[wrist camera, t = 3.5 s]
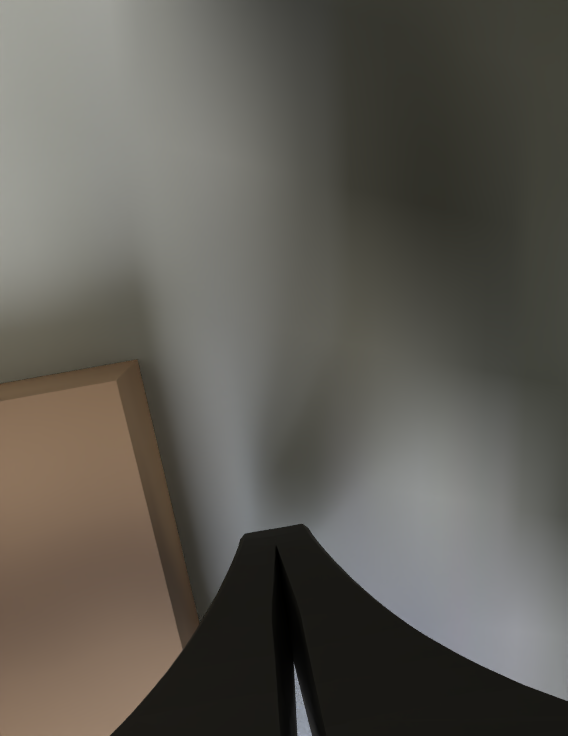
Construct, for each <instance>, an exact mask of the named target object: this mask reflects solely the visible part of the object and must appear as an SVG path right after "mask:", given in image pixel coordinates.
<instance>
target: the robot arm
mask: <svg viewBox="0 0 568 736" xmlns="http://www.w3.org/2000/svg"><path fill="white" fill-rule="evenodd" d="M294 665H295V669H296V673H297V677H298V681H299V685H300V689H301V693H302V697H303V701H304V705H305V709H306V713H307V717H308V721H309V725H310V729H311V733H312V736H568V701H565V700H563V699H560V698H557V697H555V696H552V695H549V694H547V693H544V692H541V691H539V690H536V689H533V688H530V687H528V686H525V685H523V684H520V683H518V682H516V681H513V680H511V679H509V678H507V677H505V676H502V675H500V674H498V673H496V672H494V671H492V670H489V669H487V668H485V667H483V666H481V665H479V664H477V663H475V662H473V661H471V660H469V659H467V658H465V657H463V656H461V655H459V654H457V653H455V652H454V651H452V650H450V649H448V648H447V647H445V646H443V645H441V644H440V643H438V642H436V641H434V640H433V639H431V638H429V637H427V636H426V635H424V634H422V633H421V632H419V631H418V630H416V629H414V628H413V627H411V626H410V625H409V624H407V623H406V622H404V621H403V620H402V619H400V618H399V617H397V616H396V615H395V614H393V613H392V612H391V611H389V610H388V609H387V608H385V607H384V606H383V605H382V604H381V603H379V602H378V601H377V600H376V599H374V598H373V597H372V596H371V595H370V594H369V593H368V592H366V591H365V590H364V589H363V588H362V587H361V586H360V585H358V584H357V583H356V582H355V581H354V580H353V579H352V578H351V577H350V576H349V575H348V574H347V573H346V572H345V571H344V570H343V569H342V568H341V567H340V566H339V565H338V564H337V563H336V562H335V561H334V560H333V559H332V558H331V556H330V555H329V554H328V553H327V552H326V551H325V550H324V548H323V547H322V546H321V545H320V544H319V542H318V541H317V540H316V539H315V537H314V536H313V535H312V533H311V532H310V530H309V528H307V527H306V526H305V525H303V524H298V525H292V526H287V527H281V528H275V529H269V530H263V531H257V532H252V533H246V534H244V535H243V537H242V538H241V539H240V542H239V546H238V549H237V551H236V554H235V556H234V559H233V561H232V564H231V566H230V568H229V570H228V573H227V575H226V577H225V579H224V581H223V583H222V585H221V587H220V589H219V591H218V593H217V595H216V597H215V598H214V600H213V602H212V604H211V605H210V607H209V609H208V611H207V612H206V614H205V616H204V617H203V619H202V621H201V622H200V624H199V626H198V627H197V629H196V631H195V632H194V634H193V635H192V637H191V638H190V640H189V641H188V643H187V644H186V646H185V647H184V649H183V650H182V652H181V653H180V654H179V656H178V657H177V658H176V660H175V661H174V662H173V664H172V665H171V667H170V668H169V669H168V671H167V672H166V673H165V674H164V676H163V677H162V678H161V679H160V680H159V682H158V683H157V684H156V685H155V687H154V688H153V689H152V690H151V691H150V693H149V694H148V695H147V696H146V697H145V698H144V699H143V701H142V702H141V703H140V704H139V705H138V706H137V707H136V709H135V710H134V711H133V712H132V713H131V714H130V715H129V716H128V717H127V718H126V720H125V721H124V722H123V723H122V724H121V725H120V726H119V727H118V728H117V729H116V730H115V731H114V732H113V733H112V734H111V735H110V736H297V720H296V700H295V680H294Z"/></svg>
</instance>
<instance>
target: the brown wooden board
mask: <svg viewBox="0 0 568 736" xmlns="http://www.w3.org/2000/svg"><path fill="white" fill-rule="evenodd" d="M199 624H200V623H199V619H198V615H197V611H196V606H195V602H194V598H193V594H192V589H191V585H190V581H189V577H188V572H187V568H186V564H185V560H184V555H183V551H182V547H181V543H180V538H179V534H178V530H177V526H176V521H175V517H174V513H173V509H172V504H171V500H170V496H169V491H168V487H167V483H166V479H165V474H164V470H163V466H162V462H161V457H160V453H159V449H158V445H157V440H156V436H155V432H154V428H153V423H152V419H151V415H150V411H149V406H148V402H147V398H146V394H145V389H144V385H143V381H142V377H141V372H140V368H139V364H138V360H137V359H136V360H131V361H125V362H119V363H114V364H108V365H103V366H97V367H91V368H86V369H80V370H74V371H69V372H63V373H58V374H52V375H46V376H41V377H35V378H30V379H24V380H18V381H13V382H7V383H2V384H0V736H110V735H111V734H112V733H113V732H114V731H115V730H116V729H117V728H118V727H119V726H120V725H121V724H122V723H123V722H124V721H125V720H126V718H127V717H128V716H129V715H130V714H131V713H132V712H133V711H134V710H135V709H136V707H137V706H138V705H139V704H140V703H141V702H142V701H143V699H144V698H145V697H146V696H147V695H148V694H149V693H150V691H151V690H152V689H153V688H154V687H155V685H156V684H157V683H158V682H159V680H160V679H161V678H162V677H163V676H164V674H165V673H166V672H167V671H168V669H169V668H170V667H171V665H172V664H173V662H174V661H175V660H176V658H177V657H178V656H179V654H180V653H181V652H182V650H183V649H184V647H185V646H186V644H187V643H188V641H189V640H190V638H191V637H192V635H193V634H194V632H195V631H196V629H197V627H198V626H199Z"/></svg>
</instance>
